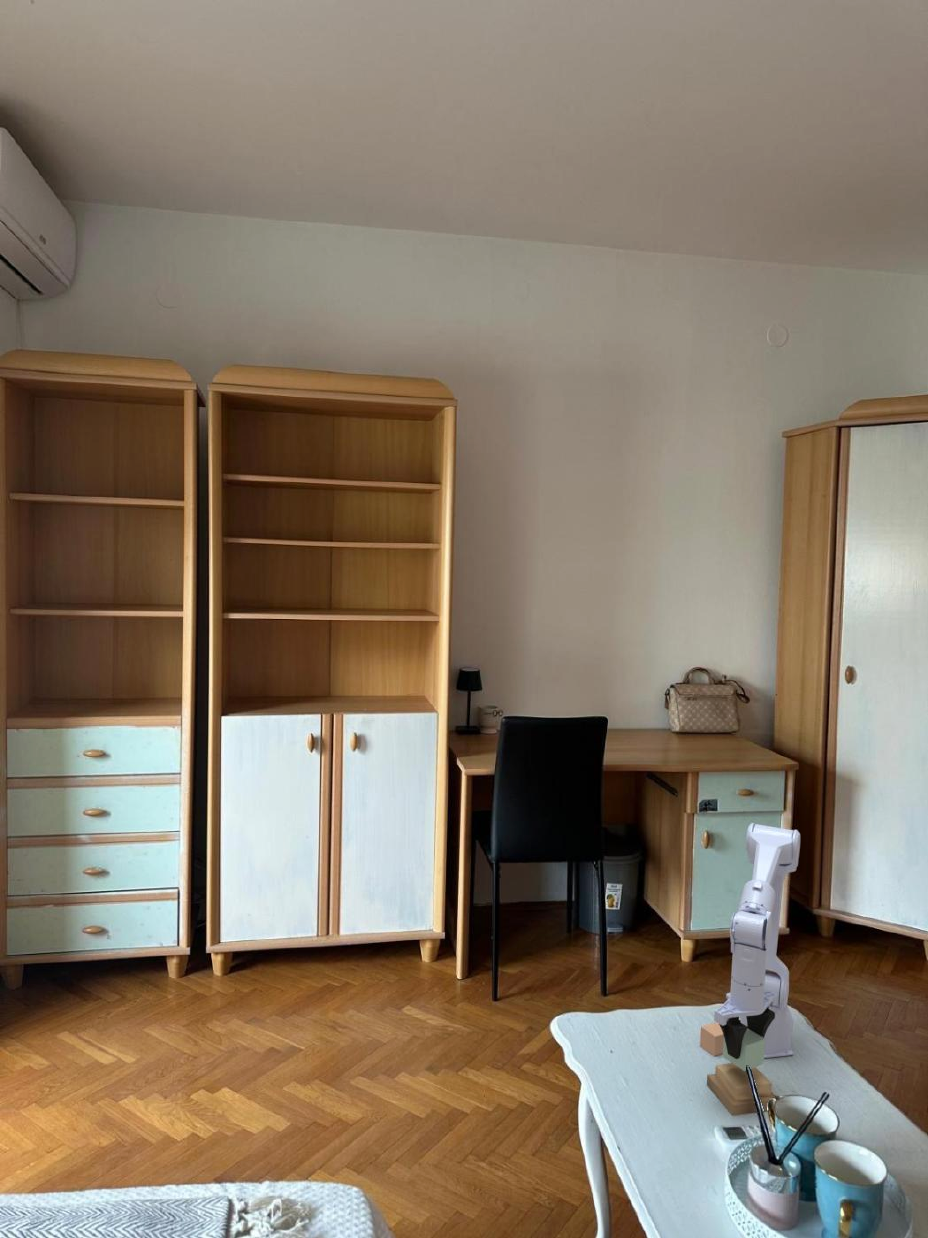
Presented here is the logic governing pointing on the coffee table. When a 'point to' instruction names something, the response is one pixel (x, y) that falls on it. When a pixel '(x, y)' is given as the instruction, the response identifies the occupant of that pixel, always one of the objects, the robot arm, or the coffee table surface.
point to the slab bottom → (729, 1101)
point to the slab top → (741, 1081)
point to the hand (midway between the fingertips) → (743, 1051)
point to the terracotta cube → (712, 1038)
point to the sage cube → (748, 1051)
